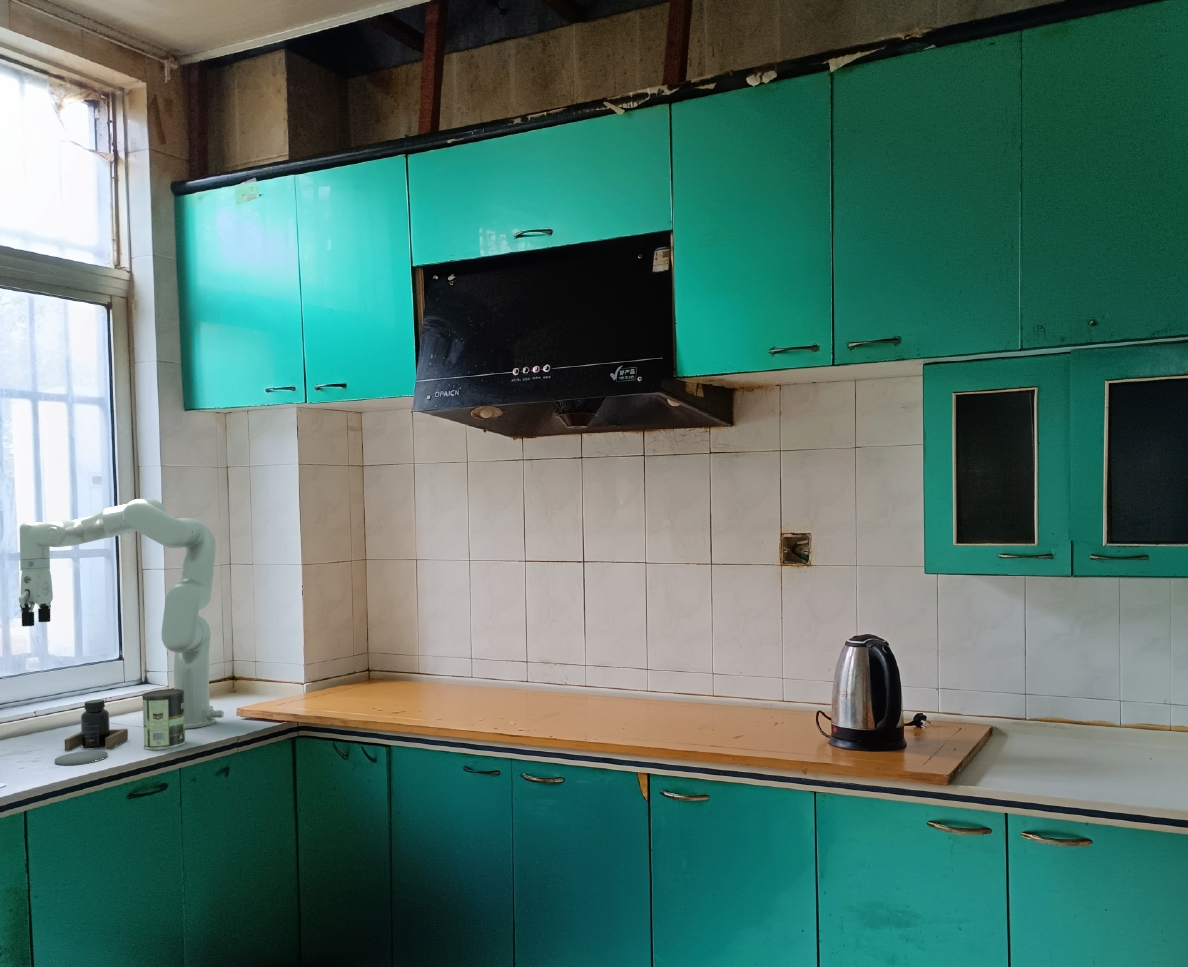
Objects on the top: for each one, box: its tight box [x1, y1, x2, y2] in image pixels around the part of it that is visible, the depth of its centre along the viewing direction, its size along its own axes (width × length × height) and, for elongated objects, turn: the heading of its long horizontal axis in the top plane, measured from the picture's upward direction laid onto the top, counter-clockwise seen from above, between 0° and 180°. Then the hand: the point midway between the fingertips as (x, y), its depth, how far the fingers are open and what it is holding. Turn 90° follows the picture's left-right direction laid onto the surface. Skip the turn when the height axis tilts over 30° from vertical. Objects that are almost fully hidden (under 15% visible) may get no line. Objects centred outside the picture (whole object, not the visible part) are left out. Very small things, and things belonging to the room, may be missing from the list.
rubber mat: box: [54, 750, 109, 766], centre depth 253 cm, size 12×12×1 cm
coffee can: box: [141, 688, 186, 751], centre depth 266 cm, size 10×10×14 cm
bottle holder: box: [63, 728, 129, 752], centre depth 268 cm, size 12×11×3 cm
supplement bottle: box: [80, 698, 111, 749], centre depth 267 cm, size 7×7×12 cm
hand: (36, 624), depth 289 cm, fingers open, 9 cm apart
